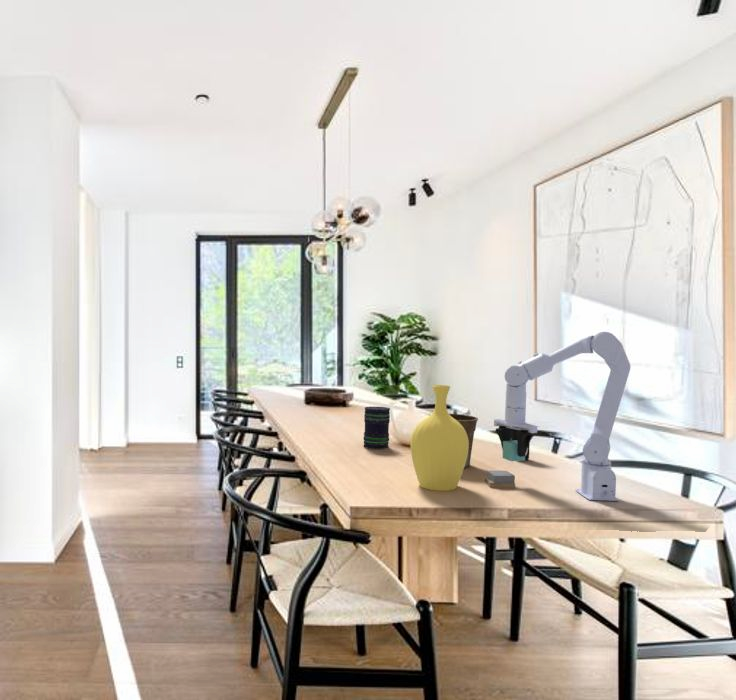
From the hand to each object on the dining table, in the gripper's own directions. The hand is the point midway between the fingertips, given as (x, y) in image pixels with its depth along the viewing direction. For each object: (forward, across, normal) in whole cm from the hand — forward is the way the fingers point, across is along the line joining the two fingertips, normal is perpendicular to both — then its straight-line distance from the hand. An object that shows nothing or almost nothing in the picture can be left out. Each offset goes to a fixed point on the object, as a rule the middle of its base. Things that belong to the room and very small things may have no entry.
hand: (513, 454), depth 153 cm
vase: (+9, +7, +22) cm, 25 cm away
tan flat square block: (+9, +1, +5) cm, 10 cm away
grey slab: (+7, +1, +4) cm, 8 cm away
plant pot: (+9, +26, 0) cm, 28 cm away
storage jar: (+9, +63, +6) cm, 64 cm away
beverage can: (+9, +23, -29) cm, 38 cm away
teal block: (+1, 0, 0) cm, 1 cm away
